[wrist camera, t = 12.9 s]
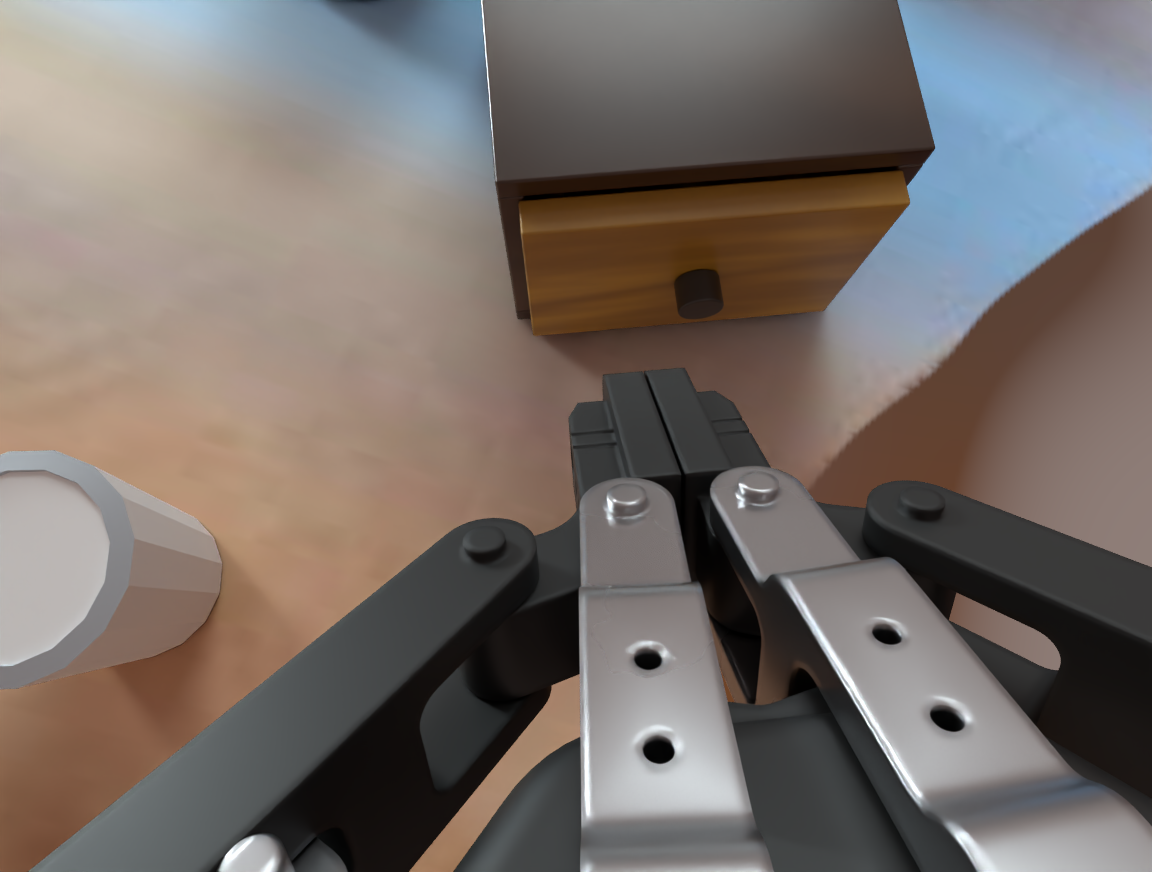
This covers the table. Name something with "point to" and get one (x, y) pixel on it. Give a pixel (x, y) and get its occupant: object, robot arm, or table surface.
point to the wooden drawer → (701, 248)
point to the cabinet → (692, 96)
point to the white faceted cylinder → (93, 570)
